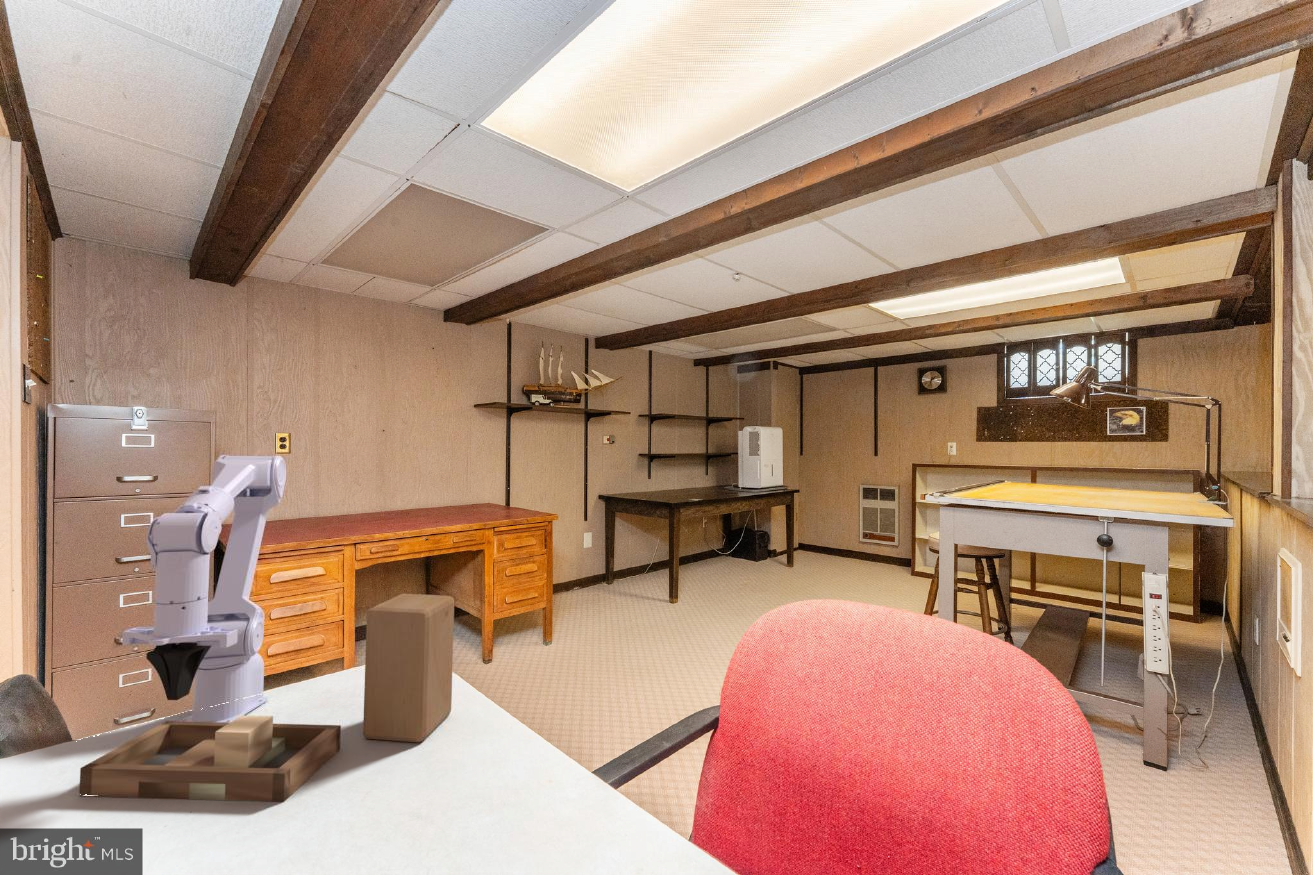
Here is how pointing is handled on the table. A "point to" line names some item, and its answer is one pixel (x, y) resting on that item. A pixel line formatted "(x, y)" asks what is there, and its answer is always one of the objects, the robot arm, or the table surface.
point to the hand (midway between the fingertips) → (178, 696)
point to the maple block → (243, 741)
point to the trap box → (208, 764)
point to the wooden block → (408, 667)
